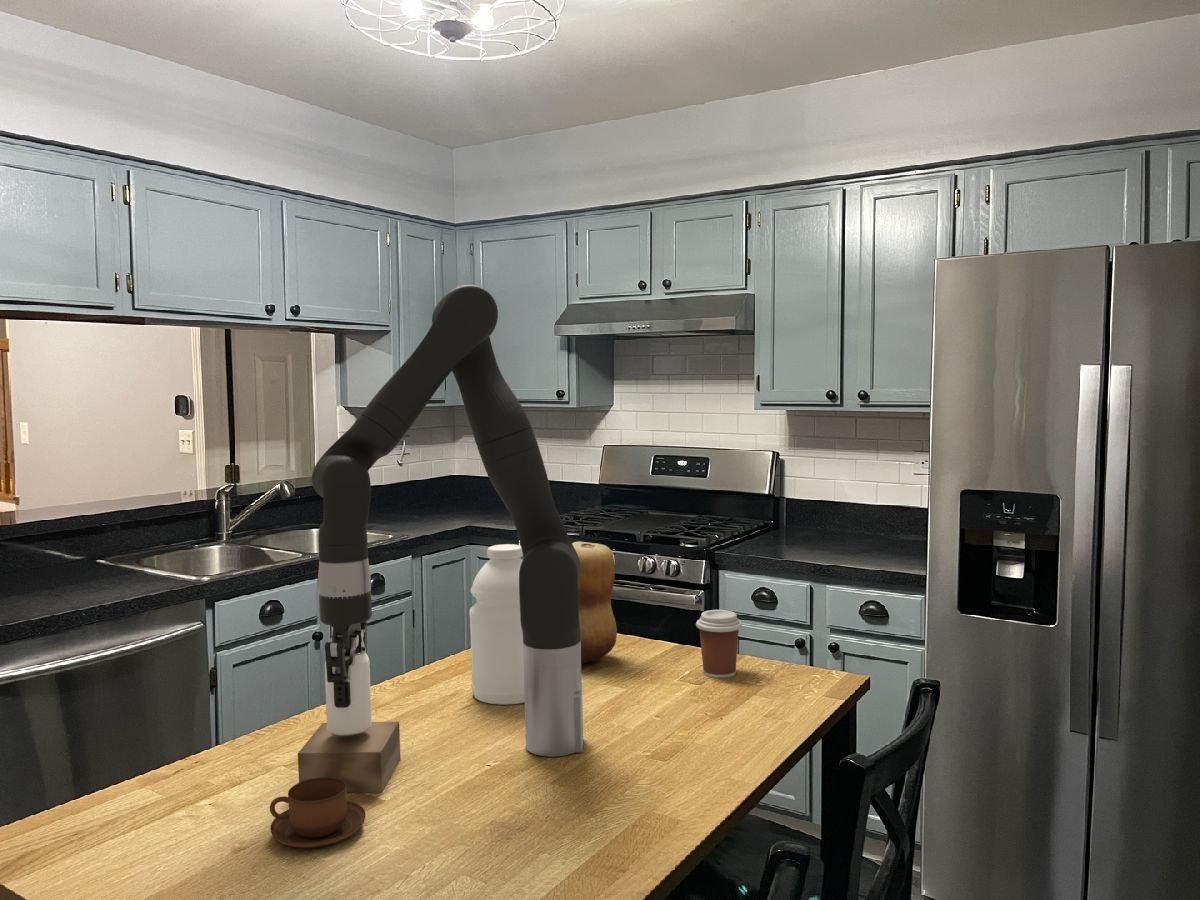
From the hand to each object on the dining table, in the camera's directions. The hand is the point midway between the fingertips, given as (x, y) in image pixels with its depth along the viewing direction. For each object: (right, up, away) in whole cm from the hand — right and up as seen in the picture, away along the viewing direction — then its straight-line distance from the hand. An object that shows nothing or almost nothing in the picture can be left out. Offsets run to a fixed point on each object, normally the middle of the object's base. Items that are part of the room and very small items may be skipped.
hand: (349, 698), depth 140 cm
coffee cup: (+61, -7, +46) cm, 77 cm away
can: (0, -5, 0) cm, 5 cm away
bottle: (+20, -9, +37) cm, 43 cm away
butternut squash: (+35, -7, +55) cm, 66 cm away
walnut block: (0, -12, +1) cm, 12 cm away
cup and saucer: (+1, -14, -17) cm, 22 cm away
